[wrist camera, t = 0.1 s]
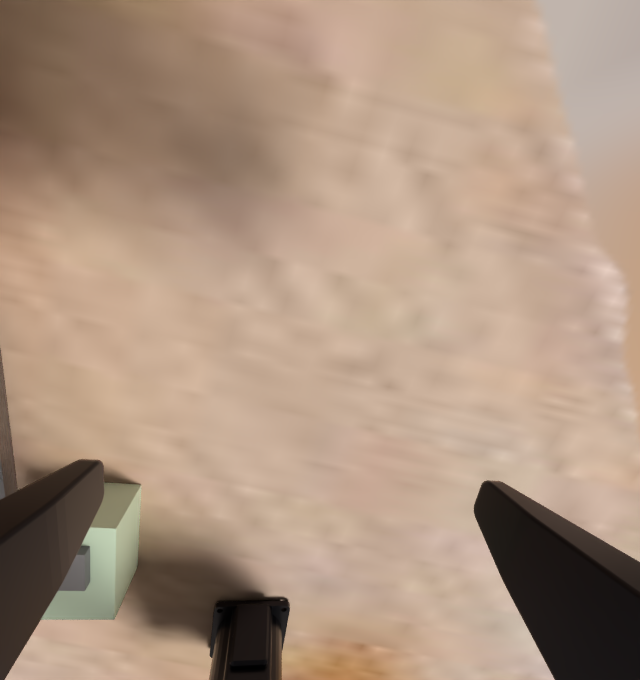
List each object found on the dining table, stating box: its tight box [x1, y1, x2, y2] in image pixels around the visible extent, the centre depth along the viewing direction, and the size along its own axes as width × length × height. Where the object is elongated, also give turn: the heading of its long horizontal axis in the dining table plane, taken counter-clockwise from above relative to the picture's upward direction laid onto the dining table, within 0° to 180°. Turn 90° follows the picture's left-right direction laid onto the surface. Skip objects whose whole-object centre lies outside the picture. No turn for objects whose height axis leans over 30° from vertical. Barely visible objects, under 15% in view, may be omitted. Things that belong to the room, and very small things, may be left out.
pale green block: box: [41, 482, 141, 620], centre depth 22 cm, size 8×5×5 cm, turn 169°
